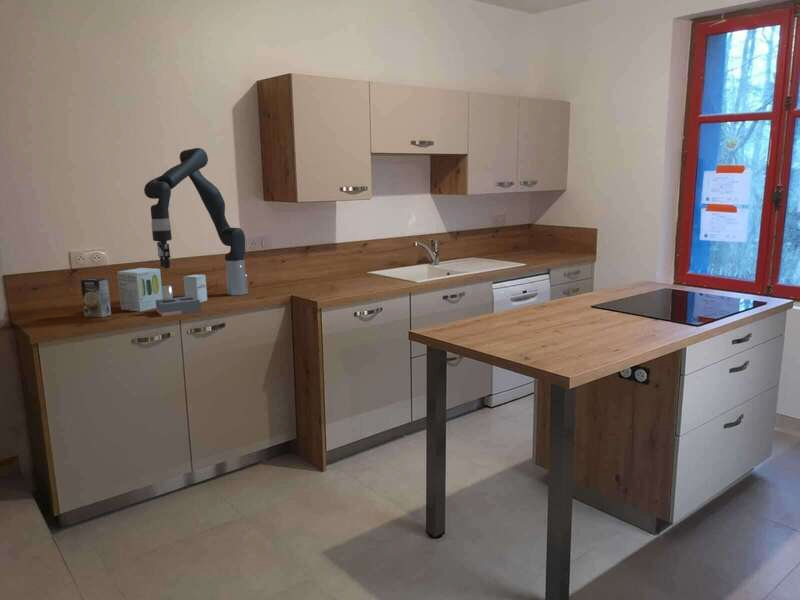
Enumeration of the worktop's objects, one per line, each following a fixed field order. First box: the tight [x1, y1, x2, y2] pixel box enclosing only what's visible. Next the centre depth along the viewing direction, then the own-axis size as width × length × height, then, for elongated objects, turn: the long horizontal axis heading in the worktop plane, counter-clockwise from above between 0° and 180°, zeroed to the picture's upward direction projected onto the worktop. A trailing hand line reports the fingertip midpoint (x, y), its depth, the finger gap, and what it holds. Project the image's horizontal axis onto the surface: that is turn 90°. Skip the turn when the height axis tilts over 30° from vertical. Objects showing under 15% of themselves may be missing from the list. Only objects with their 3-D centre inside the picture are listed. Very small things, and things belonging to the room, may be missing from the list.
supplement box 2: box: [183, 274, 208, 303], centre depth 299 cm, size 7×7×13 cm
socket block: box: [155, 296, 202, 317], centre depth 277 cm, size 16×14×5 cm
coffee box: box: [80, 277, 112, 318], centre depth 272 cm, size 9×6×16 cm
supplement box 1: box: [117, 267, 163, 312], centre depth 287 cm, size 13×13×18 cm
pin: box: [162, 285, 174, 303], centre depth 275 cm, size 4×4×10 cm
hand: (165, 267), depth 272 cm, fingers open, 8 cm apart
